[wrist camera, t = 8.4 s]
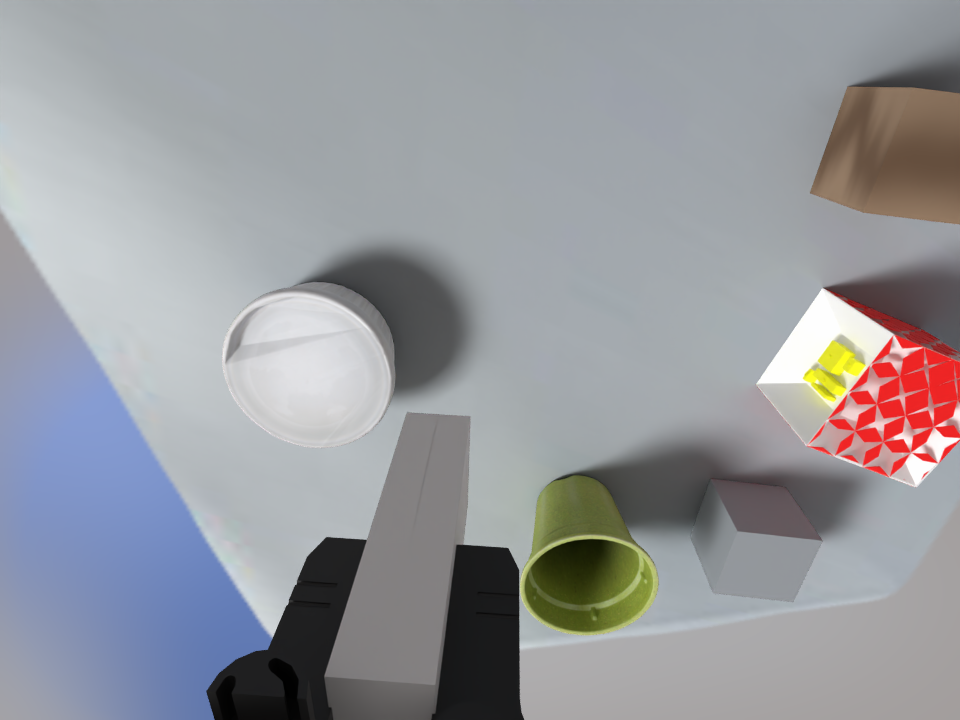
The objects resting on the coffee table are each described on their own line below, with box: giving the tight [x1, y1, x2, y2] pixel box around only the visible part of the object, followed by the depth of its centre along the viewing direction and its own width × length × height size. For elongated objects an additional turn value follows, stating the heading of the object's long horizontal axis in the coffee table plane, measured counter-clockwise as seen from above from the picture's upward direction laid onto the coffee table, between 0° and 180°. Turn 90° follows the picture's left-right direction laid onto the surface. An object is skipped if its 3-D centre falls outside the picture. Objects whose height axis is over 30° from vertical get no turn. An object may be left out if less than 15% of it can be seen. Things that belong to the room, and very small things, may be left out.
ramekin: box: [222, 282, 395, 448], centre depth 39 cm, size 11×11×5 cm
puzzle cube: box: [756, 288, 960, 488], centre depth 37 cm, size 8×8×8 cm
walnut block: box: [810, 87, 960, 224], centre depth 32 cm, size 6×6×6 cm
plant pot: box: [520, 475, 659, 635], centre depth 43 cm, size 9×9×9 cm
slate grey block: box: [690, 479, 823, 602], centre depth 44 cm, size 6×6×6 cm
